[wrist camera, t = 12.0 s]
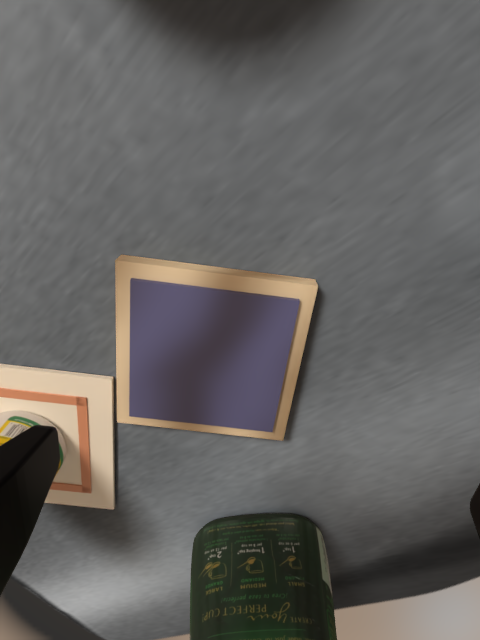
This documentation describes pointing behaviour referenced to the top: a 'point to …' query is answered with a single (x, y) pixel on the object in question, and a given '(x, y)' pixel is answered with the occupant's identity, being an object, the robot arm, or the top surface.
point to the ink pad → (208, 346)
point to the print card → (70, 428)
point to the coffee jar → (261, 580)
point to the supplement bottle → (25, 428)
